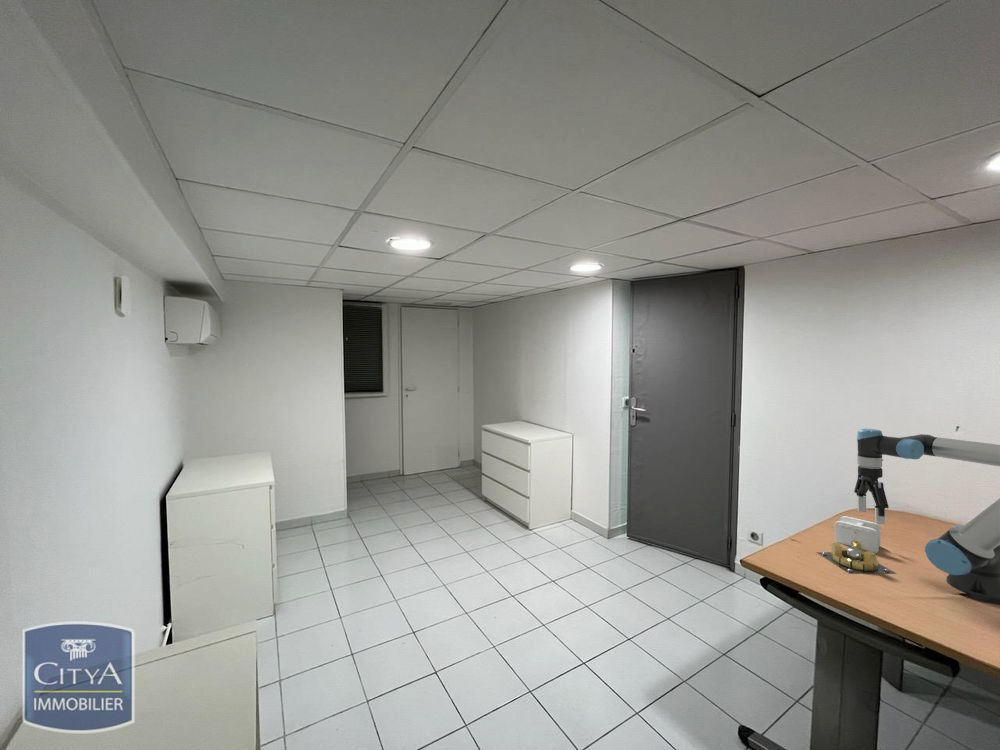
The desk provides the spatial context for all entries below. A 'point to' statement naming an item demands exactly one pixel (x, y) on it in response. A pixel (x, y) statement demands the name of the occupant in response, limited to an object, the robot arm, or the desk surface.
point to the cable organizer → (858, 533)
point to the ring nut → (866, 565)
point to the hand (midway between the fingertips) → (870, 517)
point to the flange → (855, 555)
